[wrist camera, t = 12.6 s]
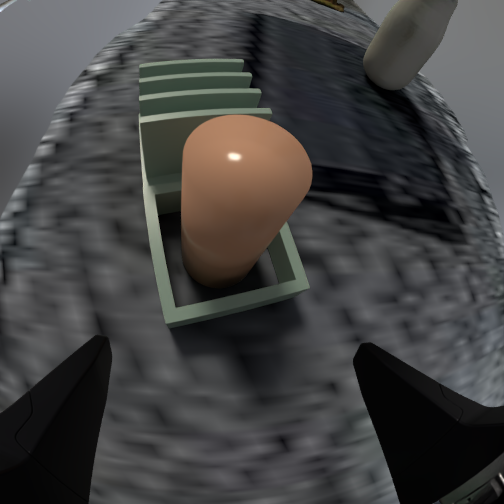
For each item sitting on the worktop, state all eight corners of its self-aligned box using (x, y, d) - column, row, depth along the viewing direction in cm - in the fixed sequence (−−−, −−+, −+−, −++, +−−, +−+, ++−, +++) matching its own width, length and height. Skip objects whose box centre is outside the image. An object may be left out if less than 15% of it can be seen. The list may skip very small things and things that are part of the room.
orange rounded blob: (212, 303, 19) (243, 243, 9) (167, 246, 20) (157, 143, 10) (267, 259, 21) (335, 176, 12) (222, 209, 22) (254, 103, 12)
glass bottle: (356, 62, 42) (413, -34, 17) (397, 87, 43) (461, -1, 18) (352, 77, 38) (422, -37, 13) (399, 107, 39) (478, 5, 13)
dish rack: (168, 328, 18) (158, 312, 11) (139, 124, 24) (136, 64, 17) (293, 297, 21) (344, 266, 14) (230, 115, 27) (245, 58, 20)
